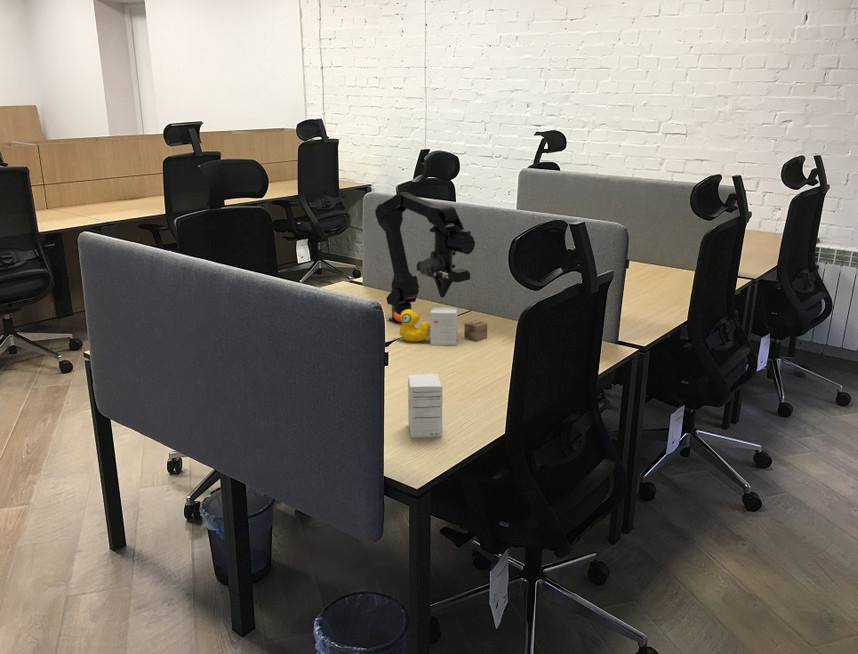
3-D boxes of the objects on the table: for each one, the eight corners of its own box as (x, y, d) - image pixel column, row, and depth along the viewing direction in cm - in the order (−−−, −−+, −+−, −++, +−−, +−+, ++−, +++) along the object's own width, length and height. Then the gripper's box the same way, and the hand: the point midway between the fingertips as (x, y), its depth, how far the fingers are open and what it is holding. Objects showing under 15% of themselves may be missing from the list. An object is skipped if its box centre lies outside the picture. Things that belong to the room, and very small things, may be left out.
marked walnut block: (463, 338, 234) (464, 321, 232) (474, 334, 237) (475, 318, 235) (476, 342, 230) (476, 325, 228) (487, 338, 233) (487, 322, 231)
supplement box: (407, 424, 175) (407, 374, 171) (439, 423, 176) (439, 373, 172) (409, 438, 168) (409, 386, 164) (442, 437, 169) (443, 385, 165)
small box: (457, 339, 232) (458, 307, 228) (456, 345, 226) (456, 312, 223) (431, 338, 232) (431, 306, 229) (430, 345, 227) (430, 311, 224)
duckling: (391, 342, 230) (390, 310, 226) (396, 336, 234) (396, 306, 231) (426, 345, 227) (426, 313, 224) (431, 339, 232) (431, 308, 228)
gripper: (403, 246, 229) (403, 295, 235) (445, 258, 216) (444, 309, 222) (430, 241, 237) (429, 288, 242) (472, 252, 224) (470, 302, 229)
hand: (442, 297), depth 233 cm, fingers closed
